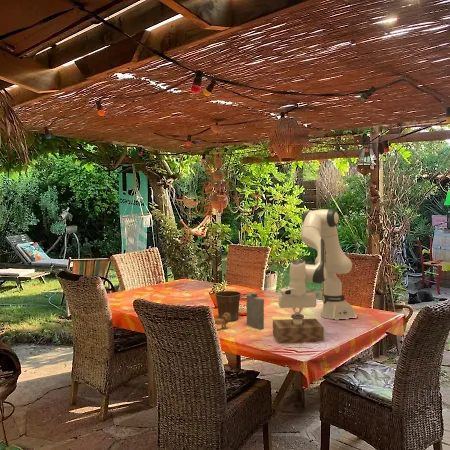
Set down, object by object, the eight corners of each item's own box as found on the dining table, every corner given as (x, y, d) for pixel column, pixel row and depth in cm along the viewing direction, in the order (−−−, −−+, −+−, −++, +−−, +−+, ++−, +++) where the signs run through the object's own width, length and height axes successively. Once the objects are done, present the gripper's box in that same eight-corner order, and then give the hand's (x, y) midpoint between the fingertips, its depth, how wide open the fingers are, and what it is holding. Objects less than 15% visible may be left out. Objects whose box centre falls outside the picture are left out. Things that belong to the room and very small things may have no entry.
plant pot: (211, 317, 294) (211, 291, 292) (235, 314, 300) (234, 289, 298) (220, 323, 278) (220, 297, 277) (245, 320, 284) (245, 294, 283)
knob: (302, 325, 254) (302, 313, 254) (305, 329, 247) (305, 317, 247) (289, 326, 254) (290, 314, 253) (292, 329, 247) (292, 317, 246)
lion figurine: (227, 326, 273) (227, 311, 273) (232, 328, 269) (232, 313, 268) (205, 330, 265) (205, 315, 265) (210, 332, 261) (210, 317, 260)
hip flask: (264, 329, 267) (264, 294, 266) (258, 330, 265) (258, 295, 264) (250, 322, 281) (250, 289, 280) (244, 323, 279) (244, 290, 278)
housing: (315, 332, 260) (315, 318, 259) (323, 341, 244) (323, 326, 243) (272, 334, 258) (272, 319, 257) (278, 343, 242) (278, 328, 241)
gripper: (315, 288, 253) (314, 313, 254) (277, 289, 251) (277, 314, 252) (318, 290, 247) (317, 316, 248) (280, 291, 245) (280, 317, 246)
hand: (297, 315), depth 250 cm, fingers closed, pressing on knob
